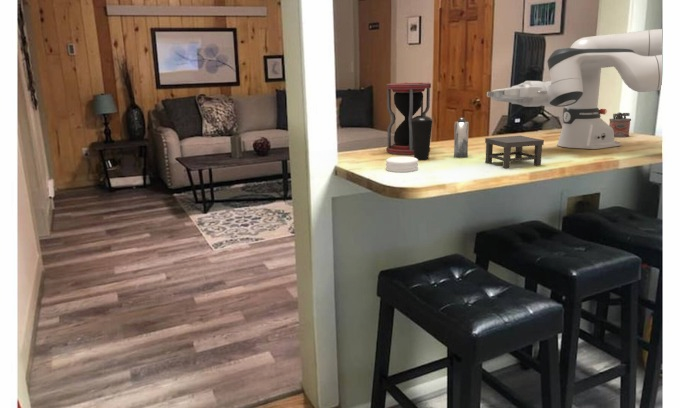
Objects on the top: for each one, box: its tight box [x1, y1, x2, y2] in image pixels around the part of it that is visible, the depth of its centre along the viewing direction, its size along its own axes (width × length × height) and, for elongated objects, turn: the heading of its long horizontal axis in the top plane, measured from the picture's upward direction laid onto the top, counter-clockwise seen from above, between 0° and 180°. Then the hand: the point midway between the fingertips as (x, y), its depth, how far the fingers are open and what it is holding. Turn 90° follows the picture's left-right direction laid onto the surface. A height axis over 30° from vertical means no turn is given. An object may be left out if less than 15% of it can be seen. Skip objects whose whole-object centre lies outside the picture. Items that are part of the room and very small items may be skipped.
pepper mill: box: [453, 117, 470, 159], centre depth 180 cm, size 5×5×14 cm
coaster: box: [385, 155, 419, 173], centre depth 163 cm, size 10×10×4 cm
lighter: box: [608, 112, 632, 139], centre depth 214 cm, size 8×3×10 cm, turn 81°
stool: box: [484, 135, 545, 170], centre depth 165 cm, size 13×12×8 cm
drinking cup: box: [410, 99, 434, 161], centre depth 178 cm, size 8×8×20 cm
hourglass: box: [386, 82, 432, 156], centre depth 192 cm, size 16×16×25 cm
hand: (495, 93), depth 178 cm, fingers open, 8 cm apart
